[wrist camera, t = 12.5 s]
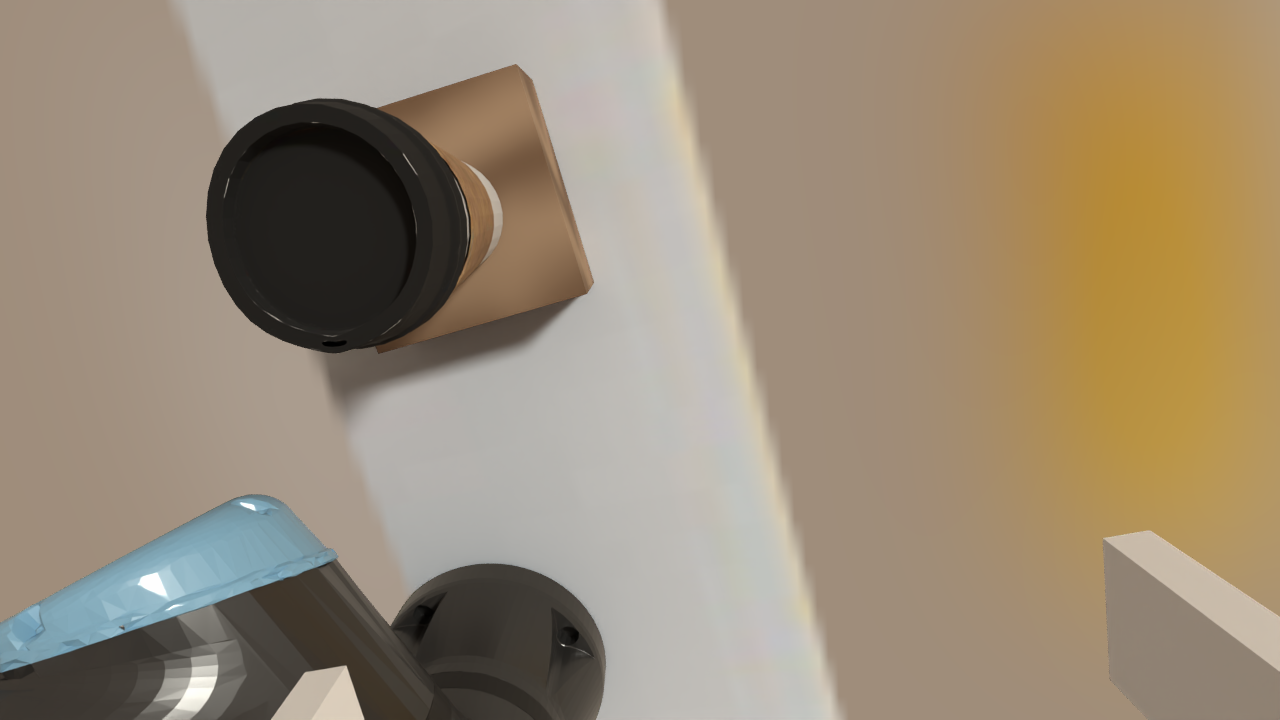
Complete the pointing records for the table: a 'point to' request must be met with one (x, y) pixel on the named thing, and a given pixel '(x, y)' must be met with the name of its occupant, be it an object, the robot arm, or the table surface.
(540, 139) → the walnut block
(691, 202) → the table surface
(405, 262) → the coffee cup
